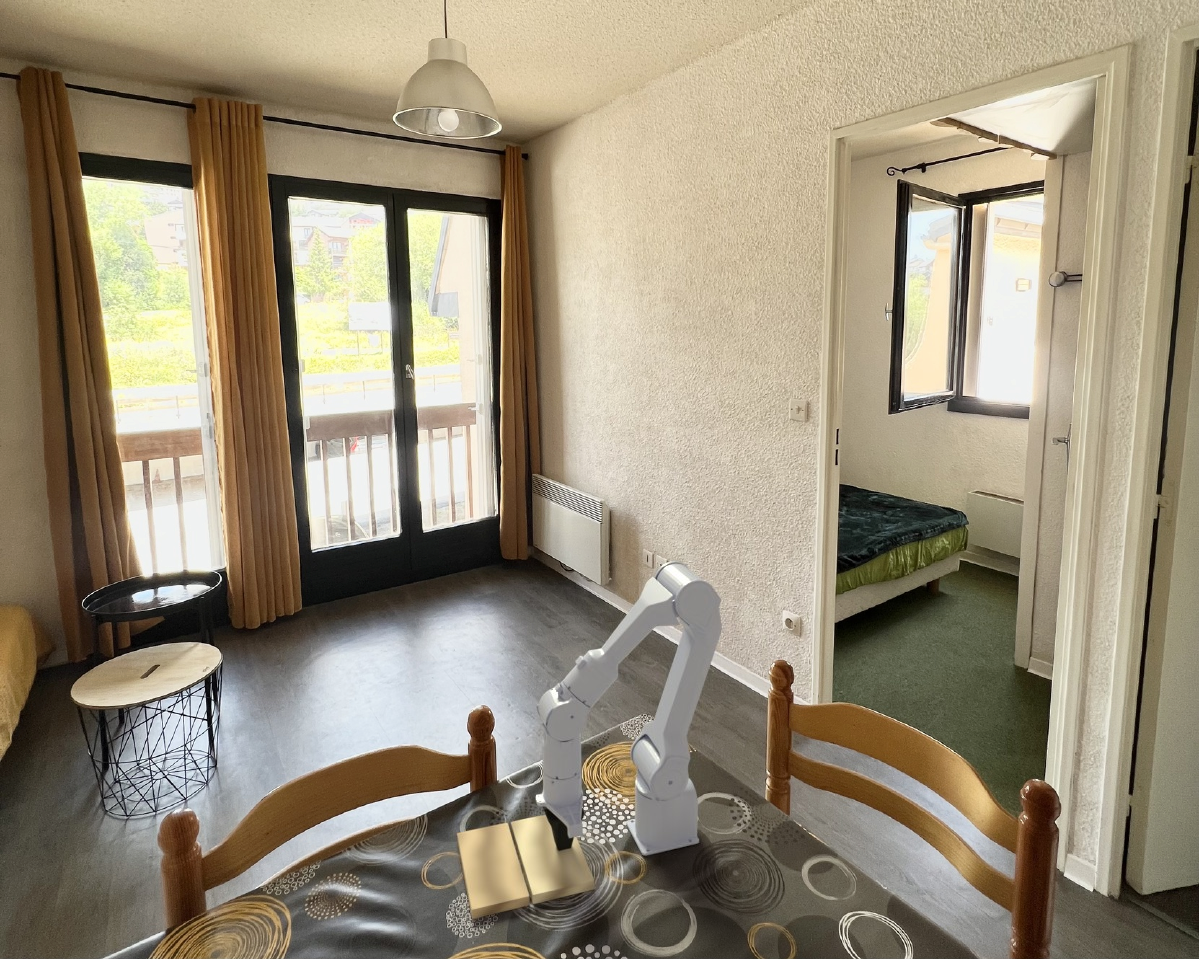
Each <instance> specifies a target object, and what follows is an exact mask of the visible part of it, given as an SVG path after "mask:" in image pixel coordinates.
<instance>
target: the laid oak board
mask: <svg viewBox="0 0 1199 959" xmlns="http://www.w3.org/2000/svg"><path fill="white" fill-rule="evenodd" d="M456 839H457V847H458V852H459V858H460V863H461V868H462V872H463V880H464V883H465V889H466V894H467V898H468V904H469V909H470V914H471V919H472V920H474V919H478V918H482V917H486V916H491V915H495V914H498V913H502V912H507V911H511V910H512V911H513V910H515V909H519V908H520V909H521V908H524V907H527V906H530V892H529V889H528V886H527V882H526V879H525V875H524V872H523V869H522V865H521V862H520V859H519V855H518V852H517V849H516V845H515V842H514V839H513V835H512V832H511V828H510V825H509V823H508V822H505V823H503V822H502V823H498V824H494V825H490V826H485V827H480V828H475V829H470V830H466V831H460V832H456Z"/></svg>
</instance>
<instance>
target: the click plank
mask: <svg viewBox="0 0 1199 959" xmlns="http://www.w3.org/2000/svg"><path fill="white" fill-rule="evenodd" d="M510 832H511V836H512V839H513V843H514V846H515V849H516V853H517V856H518V859H519V863H520V866H521V870H522V873H523V876H524V880H525V883H526V887H527V890H528V893H529V897H530V899H531V902H532V905H536V904H539V903H543V902H548V901H552V900H556V899H560V898H564V897H568V896H572V895H576V894H580V893H584V892H589V891H592V890H595V879H594V877H593V874H592V871H591V869H590V867H589V864H588V862H587V860H586V856H585V855H584V852H583V850H582V847H581V845H580V842H579V840H578V837H574V840H573V843H572V847H571V848H570V849H565V850H561V851H558V849H557V847H556V844H555V841H554V837H553V833H552V828H551V825H550V824H549V822H548V820H547V817H546V815H545V814H543V815H538V816H533V817H527V818H523V819H518V820H517V819H516V820H514V821H510Z"/></svg>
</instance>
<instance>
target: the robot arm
mask: <svg viewBox="0 0 1199 959" xmlns="http://www.w3.org/2000/svg"><path fill="white" fill-rule="evenodd" d="M721 602H722V599H721V596H720V595H719V594H718V592H717V591H716V590H715V588H714V587H713V586H712V584H711V583H709V582H708V581H706V580H704V579H702V578H701V577H700V576H699V575H698V574H696V573H695V572H693V571H692V570H691V569H690V568H689V567H688V566H687V565H686V564H685V563H683V562H682V561H681V562H680V561H677V560H675V561H673V560H672V561H668V562H665V563H664V564H662V565H661V566H660V567H659V568H657V570H656V572H655V574H654V575H653V576H651V577H650V578H649V580H647V581H646V582H645V585H644V587H643V589H642V592H641V593H640V595H639V599H637V601H636V602H635V603H634V605H633V606H632V607H631V609H630V610H629V611H628V612H627V614H626V615H625V617H624V618H623V619H622V620H621V621H620V623H619V624H618V626H617V627H616V628H615V629H614V630H613V632H612V633H611V635H609V638H608V639H607V640H605V643H604V644H603V645H602V647H601V648H597V649H596V648H595V649H590V650H587V652H586V653H585V654H584V655H583V656H582V655H579V656H578V658H577V659H575V661H574V662H575V664H576V665H575V666H574V667H573V668H572V669H571V670H570V671H569V672H568V674H566V676H565V678H564V679H563V680H562V681H560V682H557V683H556V685H555V686H554V687H553V688H550V689H548V690H547V691H546V692H544V693H543V695H542V696H541V698H540V699H539V701H538V702H539V703H538V704H536V712H537V715H539V718H541V720H542V739H541V740H542V741H541V747H542V748H541V750H542V752H541V753H542V756H541V757H542V786H543V787H542V788H543V790H542V793H539V794H536V796H535V802H536V805H537V806H538V807H539V808H543V812H544V815H546V817H547V820H548V822H549V824H550V825H551V828H552V833H553V837H554V841H555V844H556V847H557V849H558V851H561V850H565V849H570V848H571V847H572V843H573V840H574V837H576V838H578V837H581V836H583V834H584V833H583V830H584V828H583V827H584V826H583V825H584V823H583V821H582V820H583V819H584V818H585V811H584V807H583V803H584V791H583V788H582V786H583V785H582V739H581V733H582V732H584V730H585V729H586V727H587V721H588V715H589V714H590V713H591V709H592V708H593V707H594V705H595V704H596V703H597V702H598V701H599V699H601V697H602V696H603V695H604V694H605V693H606V691H608V689H609V688H610V687H611V686H612V685H613V684H614V682H615V681H616V680H617V679H618V677H619V665H620V664H621V663H622V662H623V660H624V659H626V658H627V656H628V655H629V654H631V652H632V651H633V650H634V649H635V648H636V647H637V646H638V645H639V644H640V643H641V642H643V641H644V639H645V638H646V637H647V636H648V635H649V634H650V633H651V632H652V631H654V629H655V628H656V627H670V626H671V627H672V626H673V627H675V626H680V624H681V625H682V628H683V630H682V634H681V636H680V640H679V642H678V645H677V649H676V652H675V655H674V657H673V661H672V663H671V665H670V666H671V667H670V671H669V673H668V676H667V679H666V682H665V684H664V688H663V692H662V695H661V698H660V701H659V704H658V705H657V709H656V713H655V714H654V717H653V718H654V719H653V720H652V721H649V722H646V723H644V724H643V727H642V730H641V733H640V734H639V735H638V736H637V738H636V739H635V740H634V741H633V742H632V744H631V747H630V752H629V755H630V759H631V761H632V763H633V764H634V765H635V767H636V775H635V785H634V788H635V790H634V792H635V793H634V810H635V811H634V818H633V819H628V820H626V822H625V824H626V826H627V829H628V830H629V832H630V834H631V836H632V838H633V840H634V842H635V843H636V845H637V847H638V849H639V851H640V853H641V855H643V856H650V855H654V854H660V853H663V852H666V851H671V850H675V849H680V848H683V847H687V846H693V845H696V844H699V843H700V838H699V837H698V822H699V821H698V818H699V801H698V796H697V791H696V788H695V786H694V783H693V781H692V780H691V778H690V777H689V776H690V775H689V765H690V764H689V763H690V760H691V753H690V747H689V742H688V732H689V731H690V727H691V724H692V720H693V718H694V714H695V711H696V708H697V706H698V704H699V703H698V702H699V700H700V697H701V694H702V692H703V688H704V684H705V682H706V679H707V676H708V673H709V670H710V667H711V665H712V660H713V658H714V656H715V652H716V649H717V646H718V643H719V640H720V639H721V638H720V637H721V634H722V630H723V624H722V618H721V612H720V604H721Z"/></svg>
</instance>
